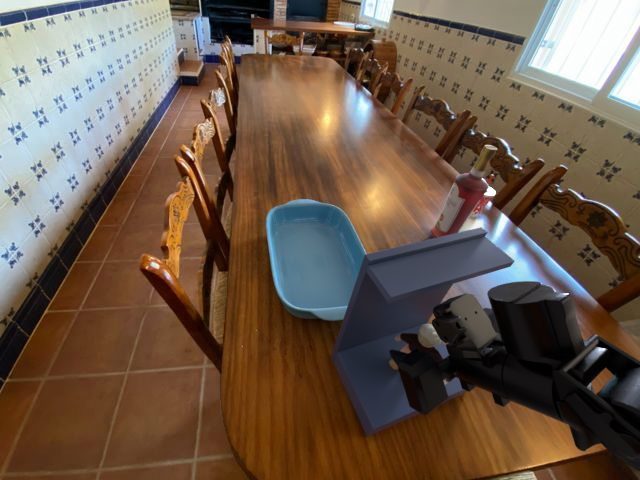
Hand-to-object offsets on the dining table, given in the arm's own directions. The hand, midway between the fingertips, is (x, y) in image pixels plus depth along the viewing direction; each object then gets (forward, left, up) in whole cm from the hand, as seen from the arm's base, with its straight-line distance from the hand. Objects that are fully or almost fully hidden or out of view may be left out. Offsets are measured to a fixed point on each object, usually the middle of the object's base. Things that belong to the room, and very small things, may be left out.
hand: (411, 340), depth 47 cm
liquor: (+27, -35, -11) cm, 45 cm away
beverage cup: (+34, -53, -11) cm, 64 cm away
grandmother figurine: (-2, 0, -7) cm, 7 cm away
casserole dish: (+27, +4, -11) cm, 30 cm away
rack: (-1, 0, -11) cm, 11 cm away
